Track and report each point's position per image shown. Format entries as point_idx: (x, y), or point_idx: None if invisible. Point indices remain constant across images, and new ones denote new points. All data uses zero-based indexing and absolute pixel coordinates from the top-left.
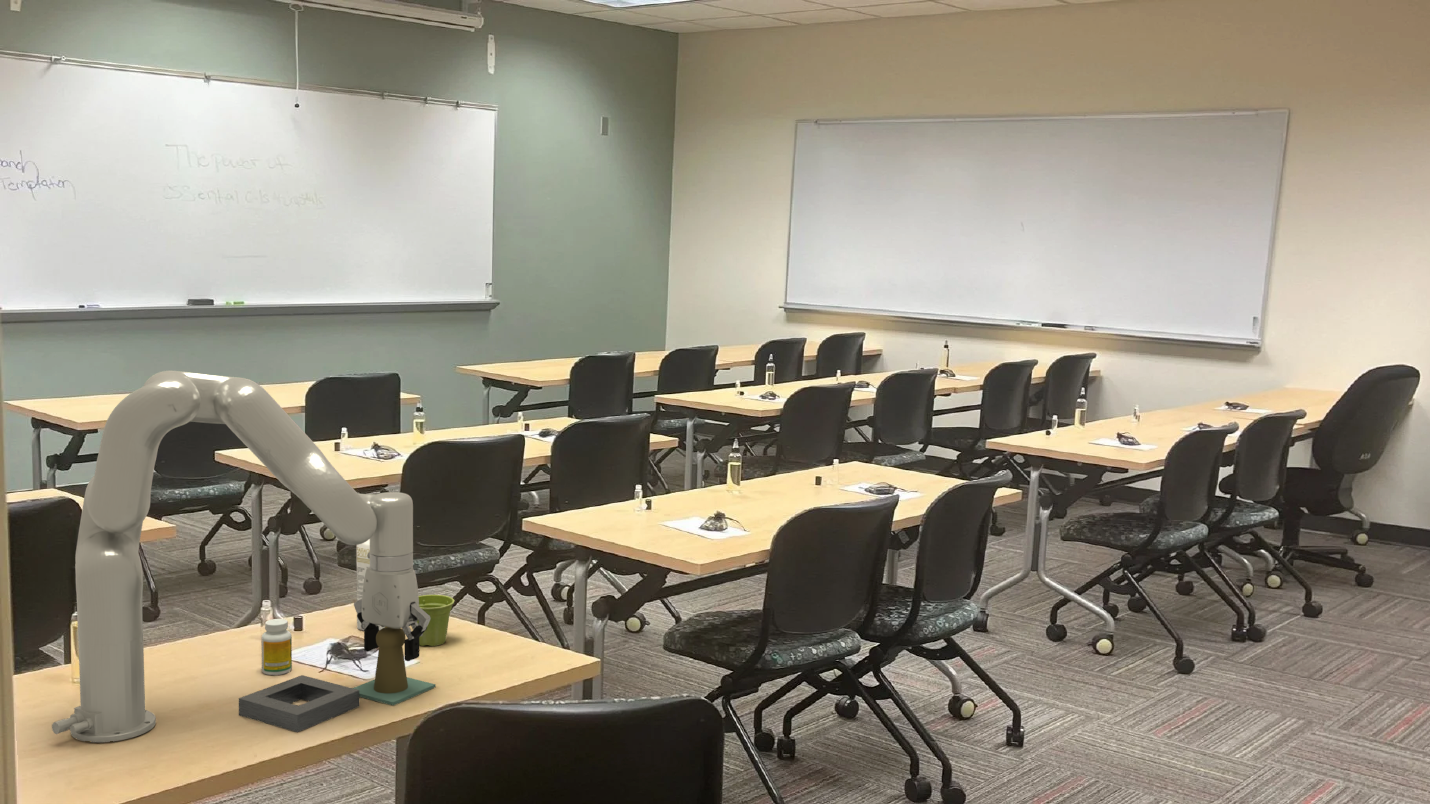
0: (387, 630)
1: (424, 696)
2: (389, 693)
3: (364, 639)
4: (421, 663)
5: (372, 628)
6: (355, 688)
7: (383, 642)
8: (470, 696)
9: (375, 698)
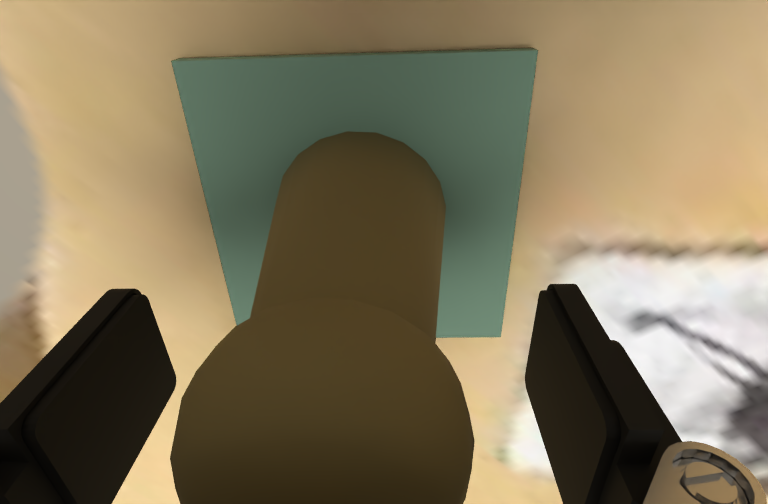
0: (289, 494)
1: (186, 238)
2: (299, 151)
3: (608, 347)
4: (485, 455)
5: (604, 494)
6: (511, 101)
7: (270, 328)
8: (60, 329)
9: (308, 56)
